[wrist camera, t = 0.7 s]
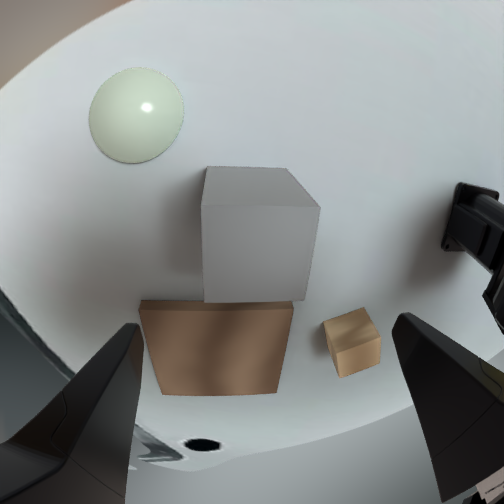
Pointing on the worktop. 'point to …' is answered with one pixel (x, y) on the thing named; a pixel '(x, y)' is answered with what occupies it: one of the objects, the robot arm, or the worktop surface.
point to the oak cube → (352, 342)
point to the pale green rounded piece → (136, 115)
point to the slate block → (256, 235)
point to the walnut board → (216, 345)
